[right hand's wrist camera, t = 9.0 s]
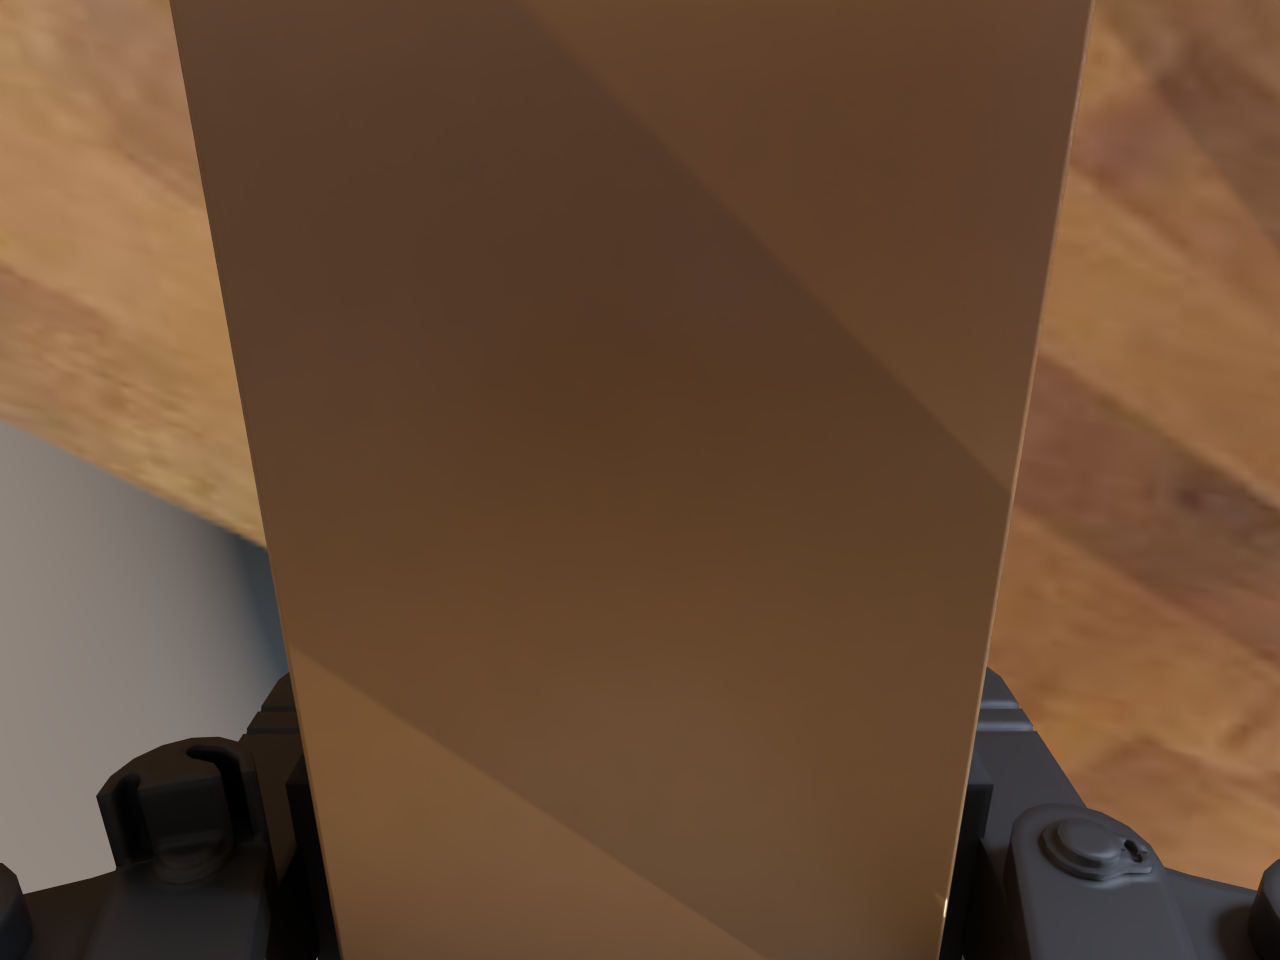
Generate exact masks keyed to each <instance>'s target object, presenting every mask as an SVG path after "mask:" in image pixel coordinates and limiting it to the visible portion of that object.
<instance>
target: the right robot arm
mask: <svg viewBox="0 0 1280 960" xmlns="http://www.w3.org/2000/svg"><path fill="white" fill-rule="evenodd" d="M96 798H97V801H98V805H99V808H100V812H101V815H102V819H103V822H104V826H105V829H106V832H107V836H108V839H109V843H110V846H111V850H112V853H113V857H114V860H115V864H116V870H115V871H113V872H110V873H106V874H103V875H100V876H97V877H93V878H90V879H86V880H81V881H78V882H73V883H69V884H65V885H61V886H57V887H52V888H48V889H44V890H40V891H35V892H31V893H27V894H23V893H22V890H21V887H20V885H19V882H18V879H17V876H16V875H15V874H14V873H13V872H12V871H11V870H10V869H9V868H8V867H6V866H5V865H4V864H3V863H0V960H316V959H317V957H318V960H341V958H340V953H339V947H338V941H337V936H336V930H335V925H334V919H333V913H332V908H331V902H330V897H329V891H328V885H327V880H326V874H325V869H324V863H323V857H322V852H321V846H320V841H319V835H318V829H317V824H316V818H315V813H314V807H313V801H312V796H311V790H310V784H309V779H308V773H307V768H306V762H305V756H304V751H303V745H302V740H301V734H300V728H299V723H298V717H297V712H296V706H295V700H294V695H293V689H292V684H291V678H290V672H289V673H287V674H286V675H285V676H283V677H282V678H280V679H279V680H278V682H277V683H276V685H275V686H274V688H273V689H272V691H271V692H270V694H269V696H268V697H267V699H266V700H265V702H264V703H263V705H262V706H261V712H257V714H256V715H255V717H254V719H253V720H252V722H251V723H250V725H249V726H248V728H247V734H243V735H242V737H241V738H240V740H239V741H238V742H237V741H233V740H229V739H225V738H222V737H201V738H189V739H185V740H181V741H178V742H174V743H170V744H166V745H162V746H160V747H158V748H156V749H153V750H151V751H149V752H147V753H145V754H143V755H141V756H138V757H136V758H134V759H133V760H131V761H130V762H129V763H127V764H126V765H125V766H123V767H122V768H121V769H120V770H118V771H117V772H116V773H114V774H113V775H112V776H110V778H109V779H108V780H107V782H106V783H105V785H104V786H103V787H102V789H101V790H100V791H99V793H98V794H97V796H96ZM962 954H963V956H964V959H965V960H1280V859H1278V860H1277V861H1275V862H1274V863H1273V864H1272V865H1271V866H1270V867H1269V868H1267V869H1266V870H1265V871H1264V873H1263V876H1262V879H1261V882H1260V885H1259V888H1258V891H1256V890H1252V889H1247V888H1243V887H1239V886H1235V885H1230V884H1226V883H1222V882H1218V881H1213V880H1209V879H1205V878H1201V877H1197V876H1192V875H1188V874H1185V873H1182V872H1179V871H1175V870H1172V869H1169V868H1166V867H1164V866H1163V864H1162V863H1161V861H1160V860H1159V858H1158V856H1157V855H1156V853H1155V852H1154V850H1153V849H1152V847H1151V845H1149V844H1148V843H1147V842H1146V841H1145V840H1144V839H1142V838H1141V837H1140V836H1139V835H1138V834H1137V833H1135V832H1134V831H1133V830H1132V829H1131V828H1130V827H1128V826H1127V825H1125V824H1123V823H1121V822H1119V821H1117V820H1115V819H1113V818H1111V817H1109V816H1108V815H1106V814H1104V813H1102V812H1099V811H1095V810H1092V809H1088V808H1087V807H1086V806H1085V804H1084V803H1083V801H1082V800H1081V798H1080V797H1079V795H1078V794H1077V792H1076V791H1075V789H1074V788H1073V786H1072V784H1071V783H1070V781H1069V780H1068V778H1067V777H1066V775H1065V774H1064V772H1063V771H1062V769H1061V768H1060V766H1059V765H1058V763H1057V762H1056V760H1055V759H1054V757H1053V756H1052V754H1051V752H1050V751H1049V749H1048V748H1047V746H1046V745H1045V743H1044V742H1043V740H1042V739H1041V737H1040V736H1039V734H1038V733H1037V731H1033V725H1032V723H1031V722H1030V720H1029V719H1028V717H1027V716H1026V714H1025V713H1024V711H1023V710H1022V709H1019V707H1018V702H1017V701H1016V699H1015V698H1014V696H1013V695H1012V693H1011V691H1010V690H1009V688H1008V687H1007V685H1006V684H1005V682H1004V681H1003V679H1002V678H1001V677H1000V676H999V675H998V674H996V673H995V672H994V671H992V670H991V669H990V668H988V667H986V673H985V679H984V686H983V692H982V698H981V704H980V710H979V716H978V722H977V728H976V734H975V741H974V747H973V753H972V759H971V765H970V771H969V777H968V783H967V789H966V796H965V802H964V808H963V814H962V820H961V826H960V832H959V838H958V844H957V851H956V857H955V863H954V869H953V875H952V881H951V887H950V893H949V899H948V905H947V912H946V918H945V924H944V930H943V936H942V942H941V948H940V954H939V960H961V959H962Z"/></svg>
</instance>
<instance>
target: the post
mask: <svg viewBox="0 0 1280 960" xmlns="http://www.w3.org/2000/svg"><path fill="white" fill-rule="evenodd" d="M1095 2H1096V0H170V6H171V11H172V17H173V22H174V28H175V34H176V39H177V45H178V51H179V56H180V62H181V67H182V73H183V79H184V84H185V90H186V95H187V101H188V107H189V112H190V118H191V123H192V129H193V135H194V140H195V146H196V151H197V157H198V163H199V168H200V174H201V179H202V185H203V191H204V196H205V202H206V207H207V213H208V219H209V224H210V230H211V235H212V241H213V247H214V252H215V258H216V263H217V269H218V275H219V280H220V286H221V291H222V297H223V303H224V308H225V314H226V319H227V325H228V331H229V336H230V342H231V347H232V353H233V359H234V364H235V370H236V375H237V381H238V387H239V392H240V398H241V403H242V409H243V415H244V420H245V426H246V432H247V437H248V443H249V448H250V454H251V460H252V465H253V471H254V476H255V482H256V488H257V493H258V499H259V504H260V510H261V516H262V521H263V527H264V532H265V538H266V544H267V549H268V555H269V560H270V566H271V571H272V577H273V583H274V588H275V594H276V600H277V605H278V611H279V616H280V622H281V627H282V633H283V639H284V644H285V650H286V656H287V661H288V667H289V672H290V678H291V684H292V689H293V695H294V700H295V706H296V712H297V717H298V723H299V728H300V734H301V740H302V745H303V751H304V756H305V762H306V768H307V773H308V779H309V784H310V790H311V796H312V801H313V807H314V813H315V818H316V824H317V829H318V835H319V841H320V846H321V852H322V857H323V863H324V869H325V874H326V880H327V885H328V891H329V897H330V902H331V908H332V913H333V919H334V925H335V930H336V936H337V941H338V947H339V953H340V958H341V960H939V954H940V948H941V942H942V936H943V930H944V924H945V918H946V912H947V905H948V899H949V893H950V887H951V881H952V875H953V869H954V863H955V857H956V851H957V844H958V838H959V832H960V826H961V820H962V814H963V808H964V802H965V796H966V789H967V783H968V777H969V771H970V765H971V759H972V753H973V747H974V741H975V734H976V728H977V722H978V716H979V710H980V704H981V698H982V692H983V686H984V679H985V673H986V667H987V661H988V655H989V649H990V643H991V637H992V631H993V625H994V618H995V612H996V606H997V600H998V594H999V588H1000V582H1001V576H1002V570H1003V563H1004V557H1005V551H1006V545H1007V539H1008V533H1009V527H1010V521H1011V515H1012V508H1013V502H1014V496H1015V490H1016V484H1017V478H1018V472H1019V466H1020V460H1021V454H1022V447H1023V441H1024V435H1025V429H1026V423H1027V417H1028V411H1029V405H1030V399H1031V392H1032V386H1033V380H1034V374H1035V368H1036V362H1037V356H1038V350H1039V344H1040V337H1041V331H1042V325H1043V319H1044V313H1045V307H1046V301H1047V295H1048V289H1049V283H1050V276H1051V270H1052V264H1053V258H1054V252H1055V246H1056V240H1057V234H1058V228H1059V221H1060V215H1061V209H1062V203H1063V197H1064V191H1065V185H1066V179H1067V173H1068V166H1069V160H1070V154H1071V148H1072V142H1073V136H1074V130H1075V124H1076V118H1077V111H1078V105H1079V99H1080V93H1081V87H1082V81H1083V75H1084V69H1085V63H1086V57H1087V50H1088V44H1089V38H1090V32H1091V26H1092V20H1093V14H1094V8H1095Z"/></svg>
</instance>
